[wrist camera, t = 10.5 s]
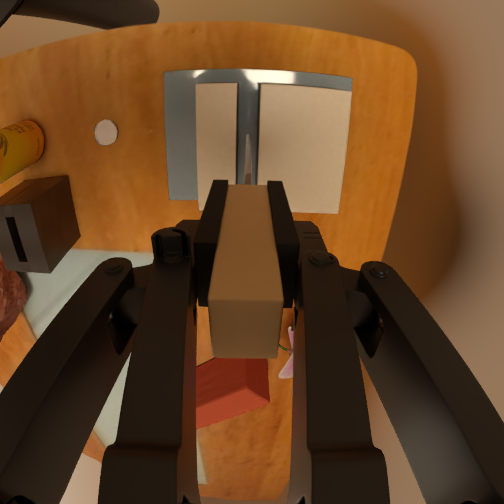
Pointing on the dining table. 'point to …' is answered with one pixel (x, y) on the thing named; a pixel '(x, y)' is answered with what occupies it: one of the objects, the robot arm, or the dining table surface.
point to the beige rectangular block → (303, 143)
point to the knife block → (37, 224)
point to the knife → (246, 275)
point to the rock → (10, 297)
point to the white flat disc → (106, 132)
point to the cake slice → (216, 135)
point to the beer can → (19, 147)
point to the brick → (230, 388)
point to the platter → (184, 118)
